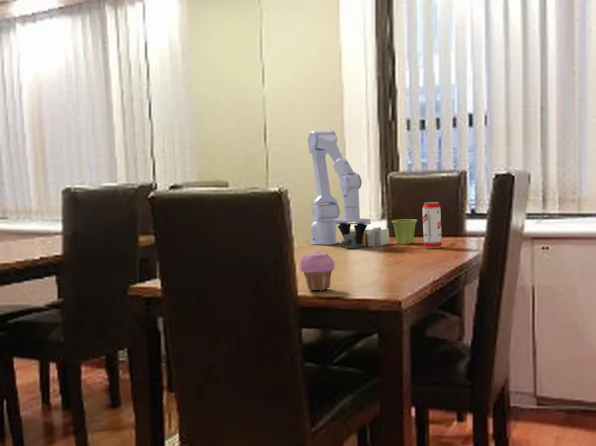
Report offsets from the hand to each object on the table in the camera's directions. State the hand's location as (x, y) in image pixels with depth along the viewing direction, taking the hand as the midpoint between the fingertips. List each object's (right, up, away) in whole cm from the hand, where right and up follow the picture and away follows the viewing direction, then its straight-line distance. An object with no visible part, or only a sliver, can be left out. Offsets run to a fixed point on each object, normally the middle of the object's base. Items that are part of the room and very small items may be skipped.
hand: (353, 243), depth 275 cm
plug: (+1, -1, +1) cm, 1 cm away
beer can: (+27, -1, -12) cm, 30 cm away
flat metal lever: (+7, +4, -7) cm, 11 cm away
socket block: (+6, -1, +7) cm, 9 cm away
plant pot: (+20, 0, +5) cm, 21 cm away
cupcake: (-15, -10, -85) cm, 87 cm away
